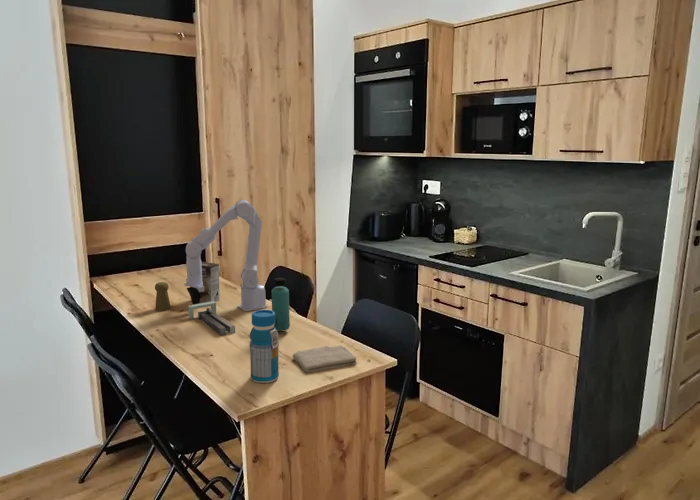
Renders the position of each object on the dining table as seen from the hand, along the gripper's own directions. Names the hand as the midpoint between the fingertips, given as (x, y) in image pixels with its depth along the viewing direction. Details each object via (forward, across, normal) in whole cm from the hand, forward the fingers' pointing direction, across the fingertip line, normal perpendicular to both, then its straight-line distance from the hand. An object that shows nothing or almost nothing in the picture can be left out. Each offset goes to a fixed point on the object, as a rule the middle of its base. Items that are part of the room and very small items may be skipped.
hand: (195, 304), depth 213 cm
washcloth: (+3, +69, +16) cm, 71 cm away
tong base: (+3, +19, 0) cm, 20 cm away
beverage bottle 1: (+3, +69, -5) cm, 69 cm away
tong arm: (+3, +19, +2) cm, 20 cm away
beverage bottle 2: (+3, +39, +17) cm, 42 cm away
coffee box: (+3, -11, +9) cm, 15 cm away
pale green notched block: (+3, +7, 0) cm, 7 cm away
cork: (+3, -10, -10) cm, 15 cm away
